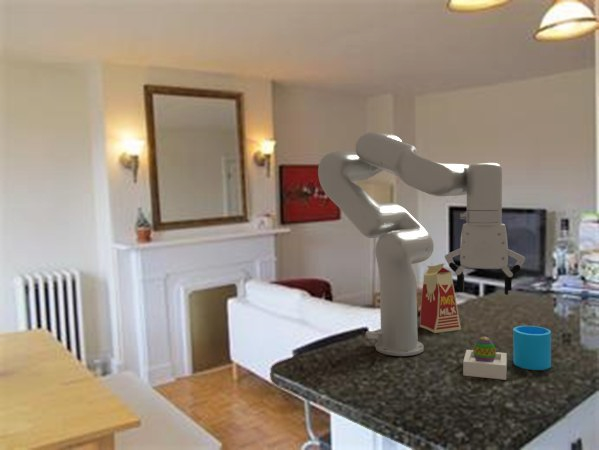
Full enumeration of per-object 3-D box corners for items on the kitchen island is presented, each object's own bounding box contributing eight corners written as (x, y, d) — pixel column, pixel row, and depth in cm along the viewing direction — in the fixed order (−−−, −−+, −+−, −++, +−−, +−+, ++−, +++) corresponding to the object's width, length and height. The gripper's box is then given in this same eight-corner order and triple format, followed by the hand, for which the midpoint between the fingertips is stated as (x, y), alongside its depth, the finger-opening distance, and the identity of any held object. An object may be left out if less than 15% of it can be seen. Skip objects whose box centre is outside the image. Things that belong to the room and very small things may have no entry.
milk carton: (461, 329, 154) (460, 262, 153) (435, 333, 151) (434, 265, 149) (442, 322, 163) (441, 259, 161) (417, 326, 159) (416, 261, 158)
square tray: (463, 375, 117) (463, 361, 117) (466, 362, 126) (466, 349, 125) (506, 379, 114) (506, 365, 114) (506, 366, 122) (506, 353, 122)
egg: (469, 362, 120) (468, 336, 119) (480, 357, 123) (480, 332, 123) (488, 367, 116) (488, 341, 116) (499, 362, 119) (499, 336, 119)
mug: (550, 372, 118) (550, 336, 117) (511, 367, 122) (511, 333, 121) (552, 356, 128) (552, 323, 128) (516, 352, 132) (516, 320, 132)
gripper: (442, 219, 117) (442, 293, 119) (525, 219, 111) (525, 298, 112) (446, 216, 124) (447, 287, 126) (525, 216, 117) (524, 291, 119)
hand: (483, 292), depth 119 cm, fingers open, 9 cm apart
